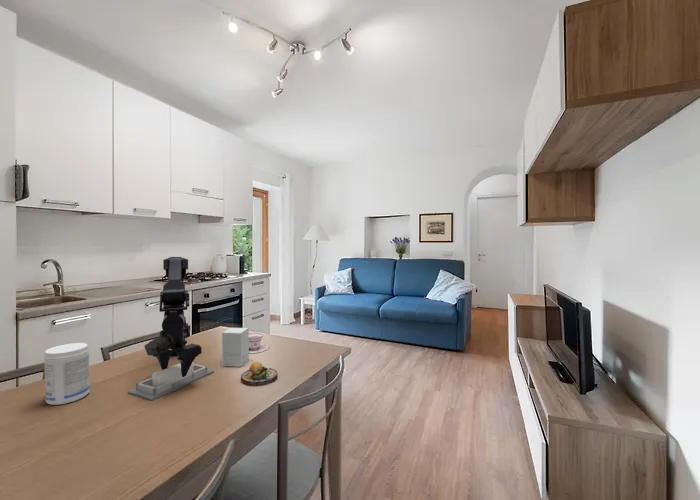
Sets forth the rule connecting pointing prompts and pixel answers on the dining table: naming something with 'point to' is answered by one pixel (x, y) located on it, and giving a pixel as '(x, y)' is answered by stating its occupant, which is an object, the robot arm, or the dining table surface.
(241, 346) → the supplement box
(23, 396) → the dining table surface
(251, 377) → the burger
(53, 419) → the dining table surface
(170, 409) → the dining table surface
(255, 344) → the teacup
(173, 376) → the slat
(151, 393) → the grey bracket base
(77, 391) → the supplement tub
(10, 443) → the dining table surface
